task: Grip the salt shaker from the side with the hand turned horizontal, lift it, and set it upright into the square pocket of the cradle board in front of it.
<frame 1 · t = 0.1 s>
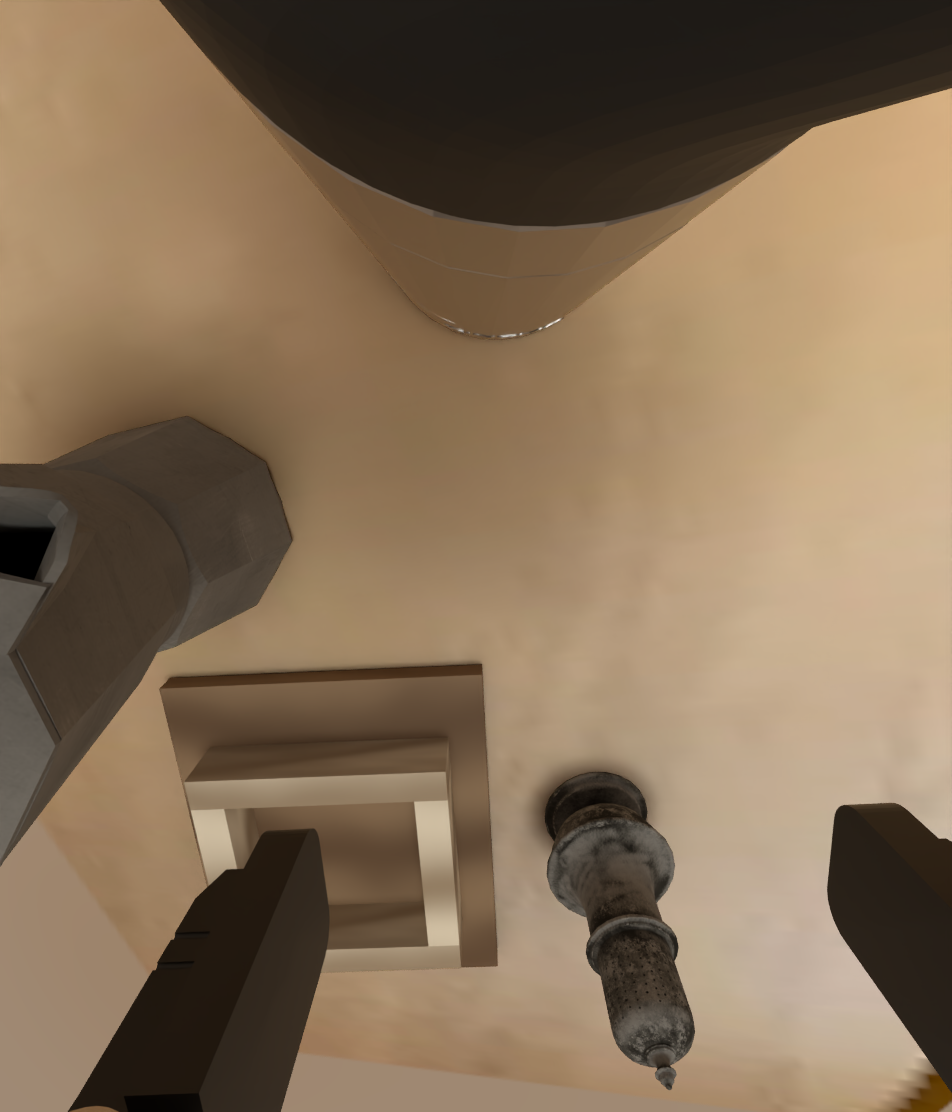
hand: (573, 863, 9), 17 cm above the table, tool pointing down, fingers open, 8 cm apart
coffeepot: (173, 534, 25), on the table
salt shaker: (594, 812, 30), on the table
cradle: (347, 824, 30), on the table
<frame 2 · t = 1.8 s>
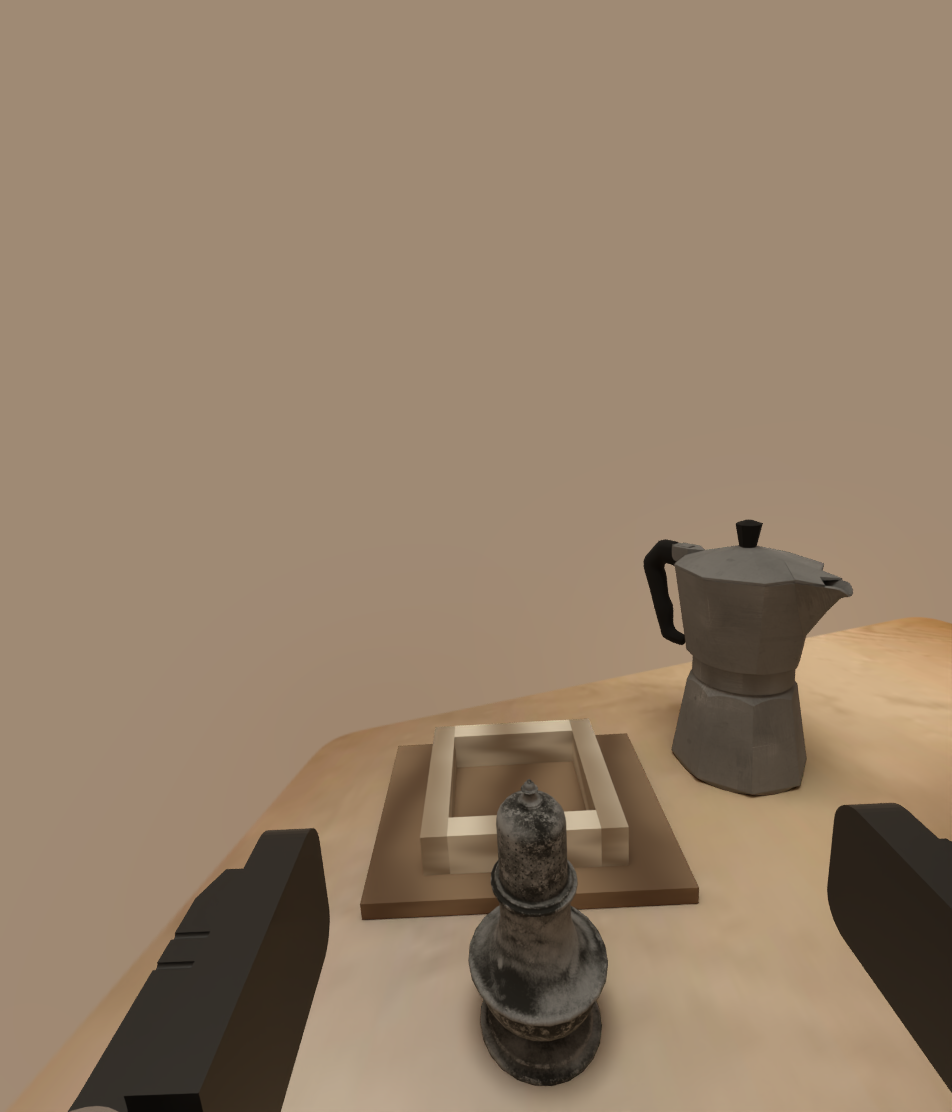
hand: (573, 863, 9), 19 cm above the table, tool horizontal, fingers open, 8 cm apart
coffeepot: (723, 753, 43), on the table
salt shaker: (540, 1020, 25), on the table
cradle: (519, 815, 38), on the table
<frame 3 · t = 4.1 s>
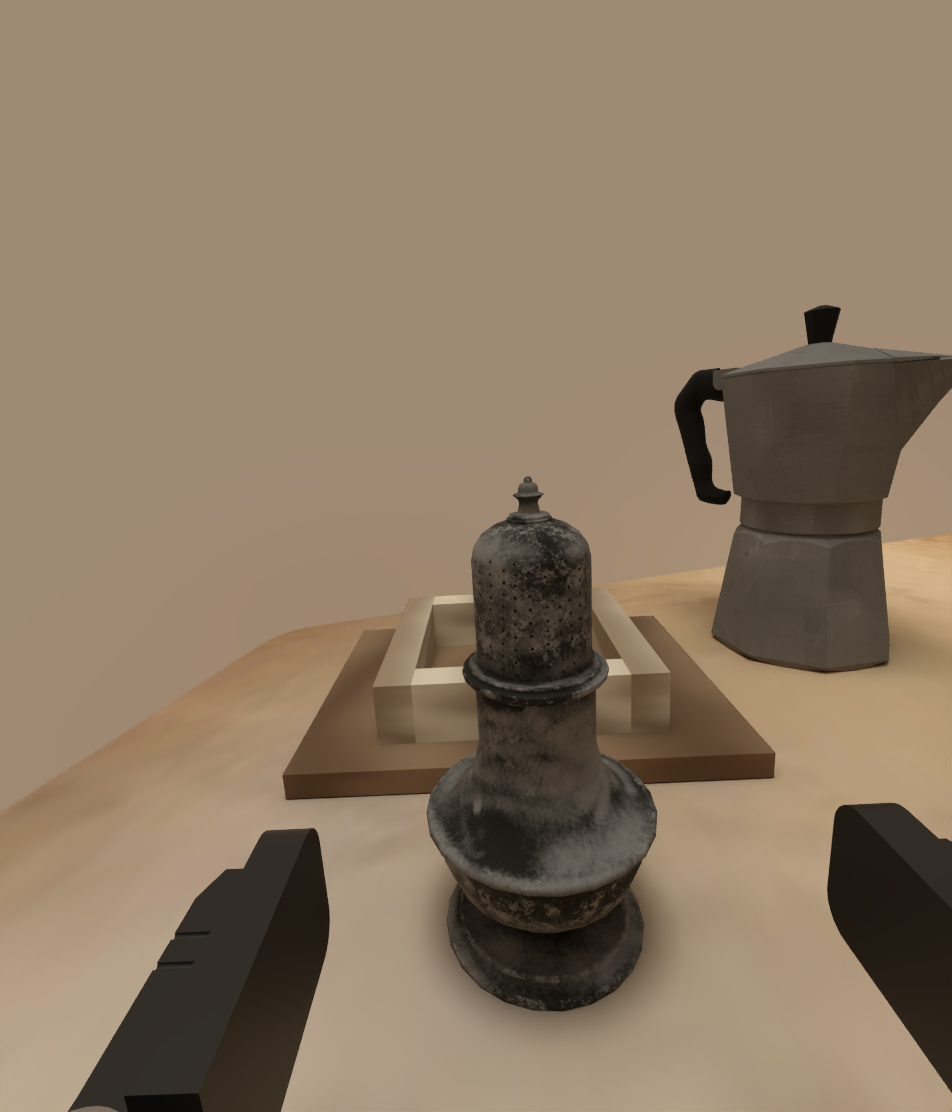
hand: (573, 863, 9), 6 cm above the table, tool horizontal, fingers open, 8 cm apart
coffeepot: (778, 637, 34), on the table
salt shaker: (543, 920, 16), on the table
cradle: (515, 693, 28), on the table
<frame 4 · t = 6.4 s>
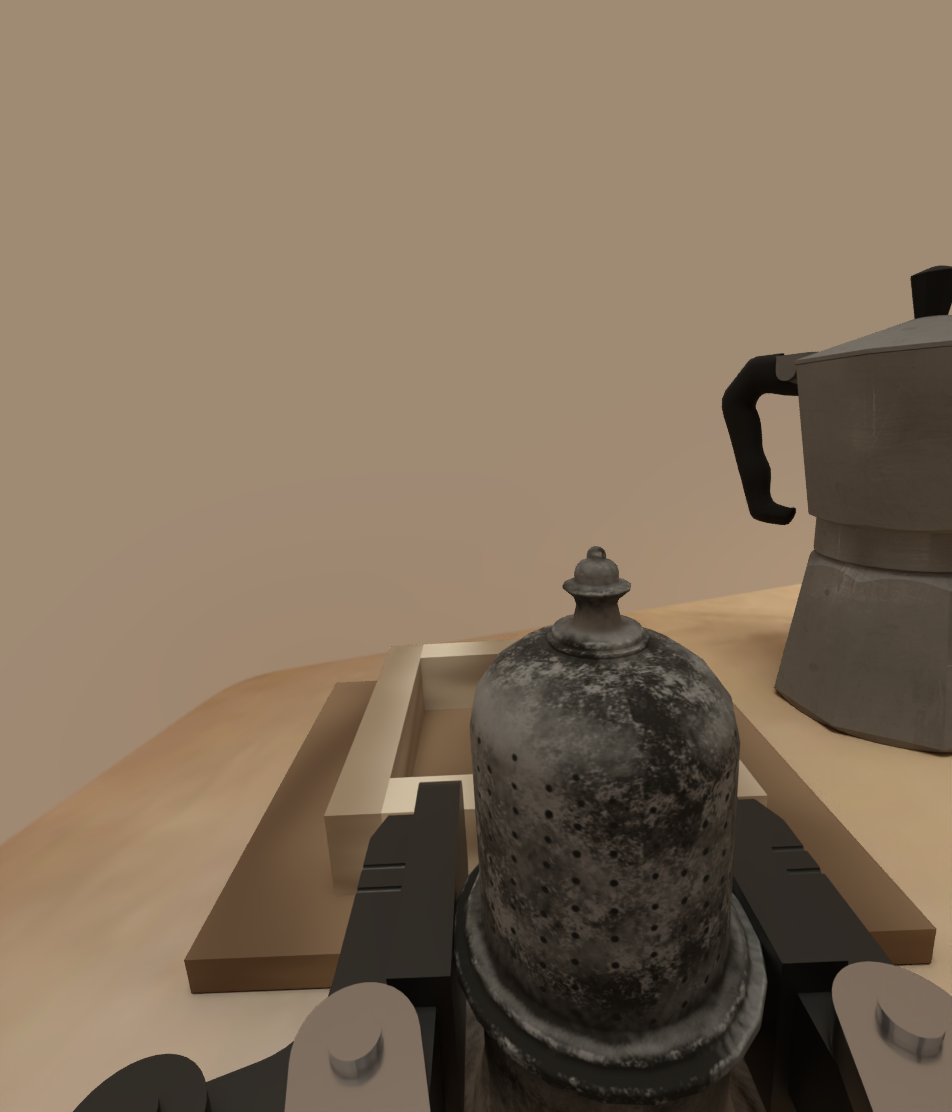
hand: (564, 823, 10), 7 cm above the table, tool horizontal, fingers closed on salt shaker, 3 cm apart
coffeepot: (859, 694, 27), on the table
cradle: (529, 785, 21), on the table
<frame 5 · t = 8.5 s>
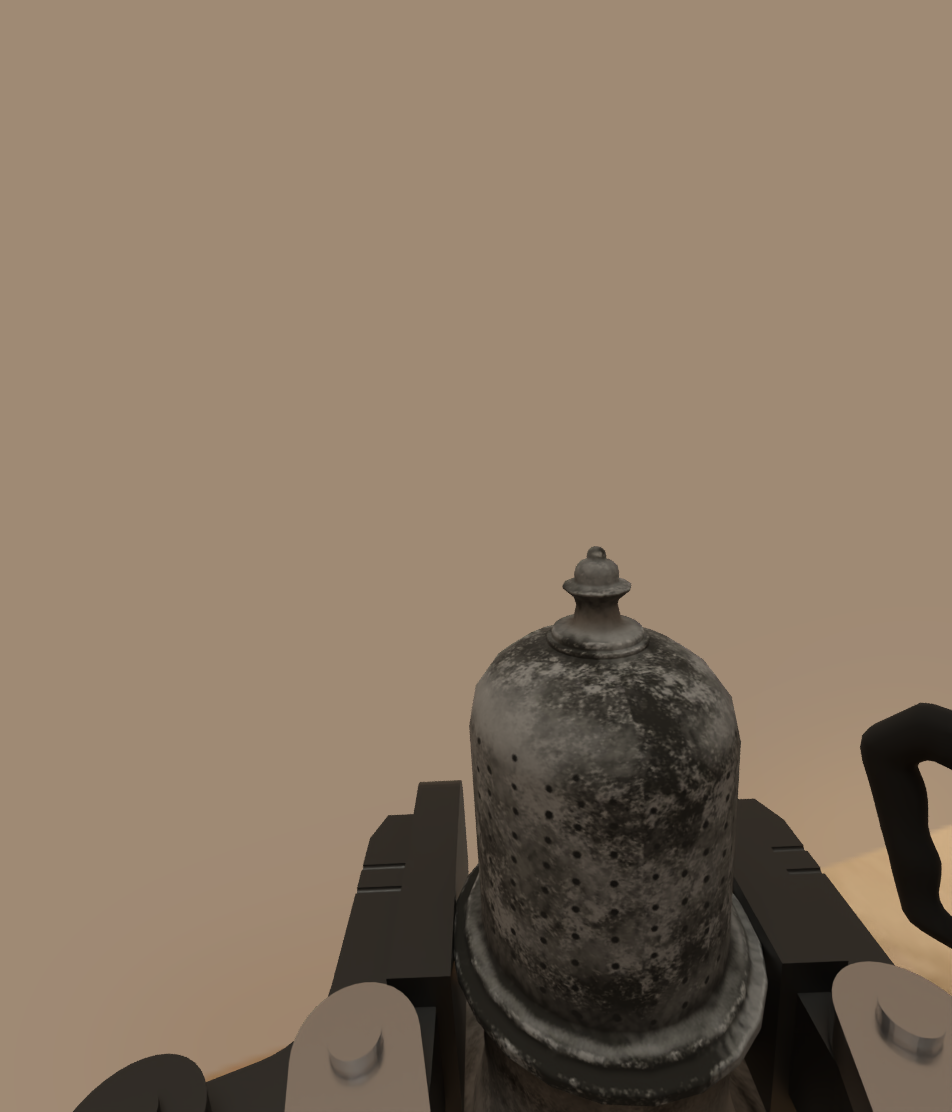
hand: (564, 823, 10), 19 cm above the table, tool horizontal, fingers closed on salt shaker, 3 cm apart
when the fingers open (9 cm above the table, at t = 11.1 s): salt shaker drops 1 cm, resting on cradle.
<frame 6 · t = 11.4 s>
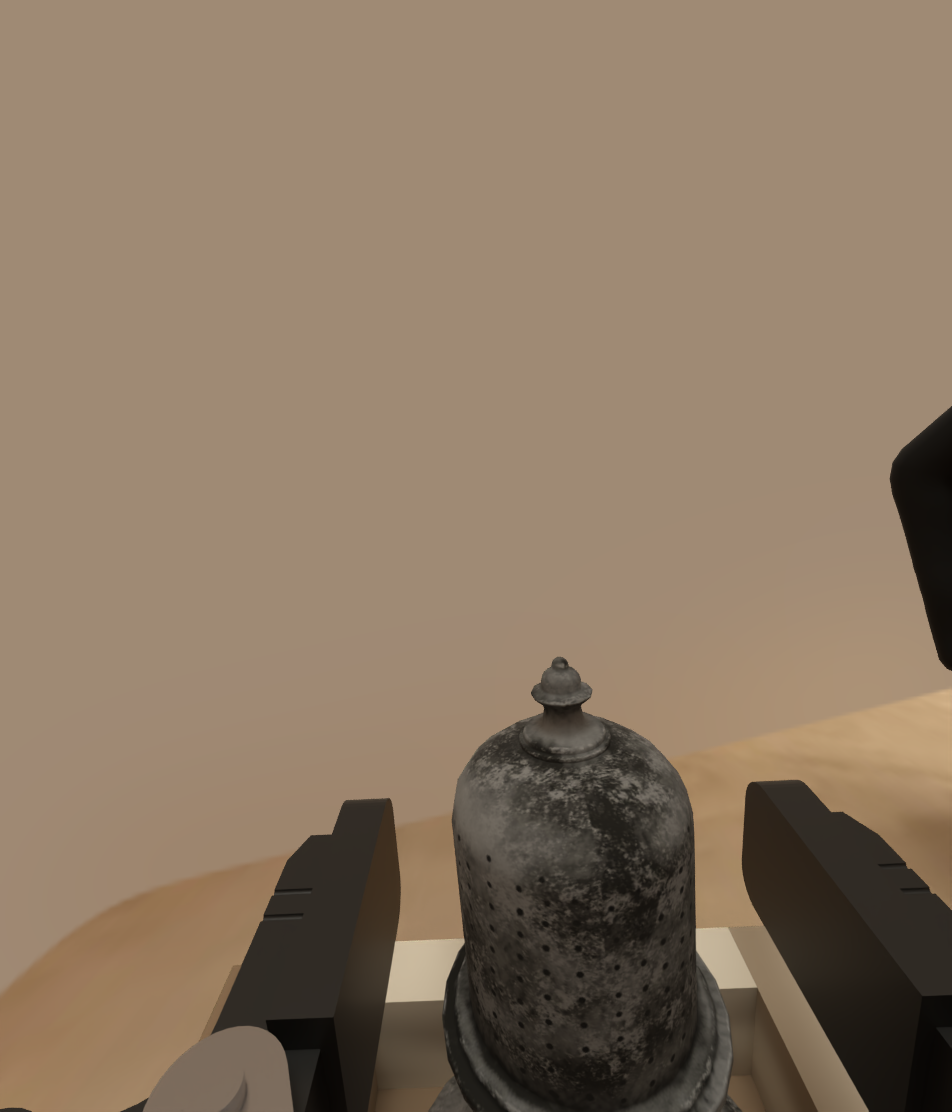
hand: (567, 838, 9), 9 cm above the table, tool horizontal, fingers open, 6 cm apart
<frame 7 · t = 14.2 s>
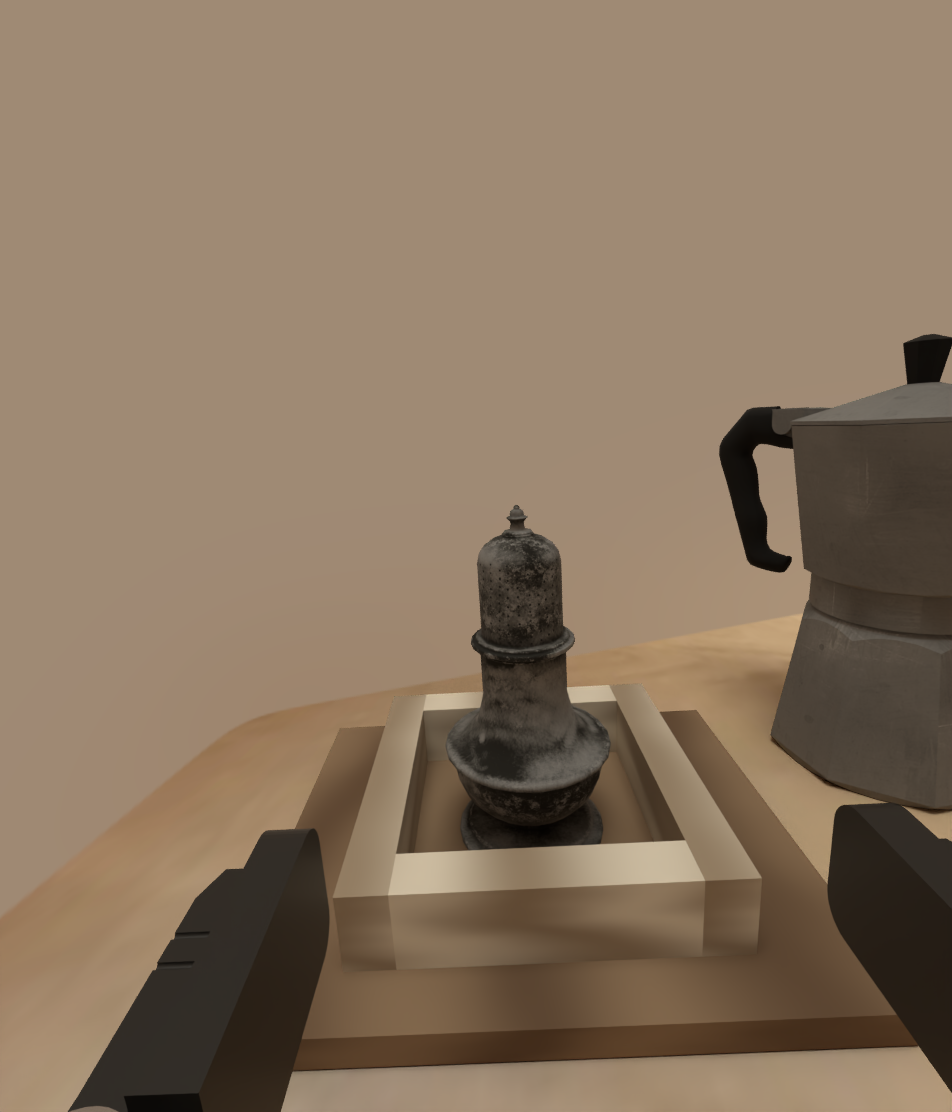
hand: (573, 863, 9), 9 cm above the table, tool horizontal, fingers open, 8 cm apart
coffeepot: (853, 741, 27), on the table
salt shaker: (531, 827, 21), point 1 cm above the table, touching cradle
cradle: (531, 843, 22), on the table
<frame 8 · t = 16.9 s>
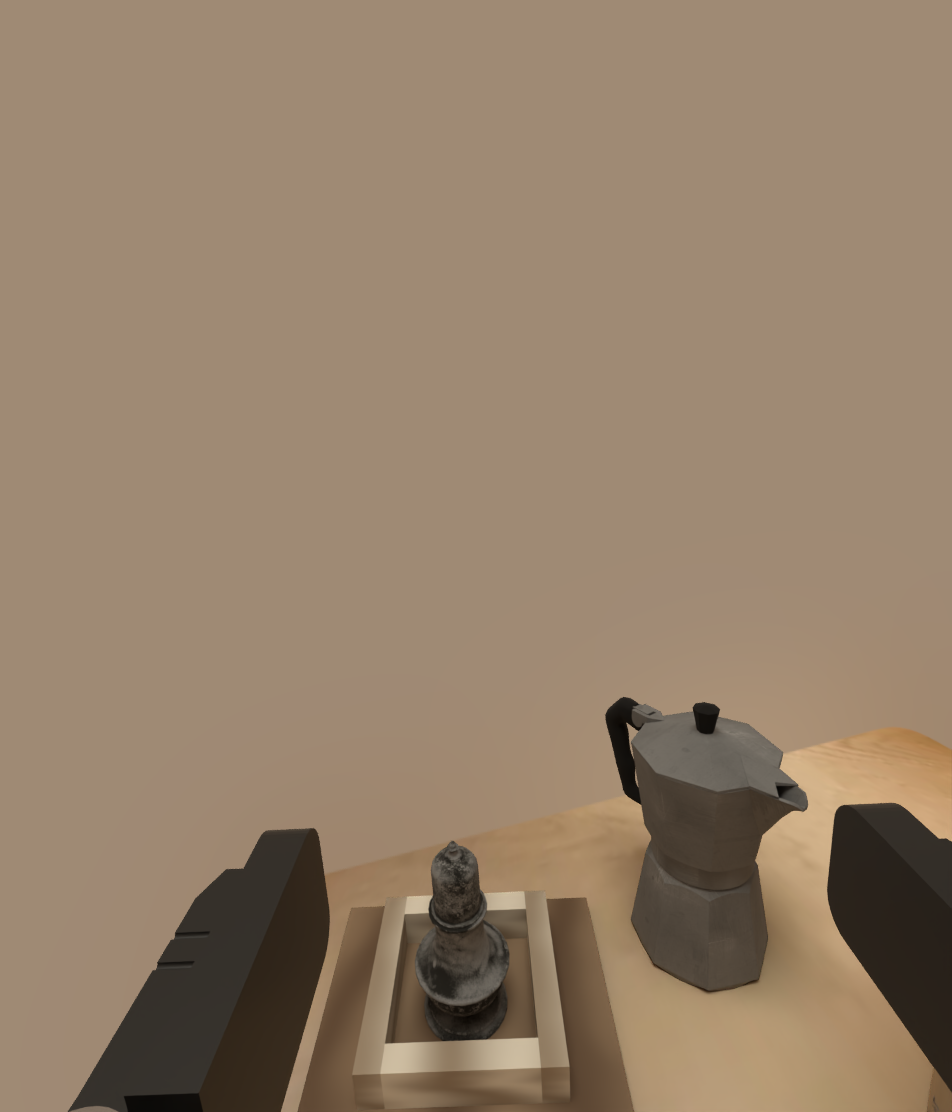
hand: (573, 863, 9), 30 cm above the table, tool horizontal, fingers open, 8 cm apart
coffeepot: (684, 923, 42), on the table
salt shaker: (466, 1004, 36), point 1 cm above the table, touching cradle
cradle: (466, 1012, 36), on the table
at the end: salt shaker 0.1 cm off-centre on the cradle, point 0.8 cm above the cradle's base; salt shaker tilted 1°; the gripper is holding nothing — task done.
